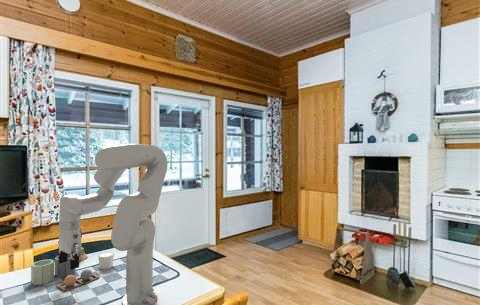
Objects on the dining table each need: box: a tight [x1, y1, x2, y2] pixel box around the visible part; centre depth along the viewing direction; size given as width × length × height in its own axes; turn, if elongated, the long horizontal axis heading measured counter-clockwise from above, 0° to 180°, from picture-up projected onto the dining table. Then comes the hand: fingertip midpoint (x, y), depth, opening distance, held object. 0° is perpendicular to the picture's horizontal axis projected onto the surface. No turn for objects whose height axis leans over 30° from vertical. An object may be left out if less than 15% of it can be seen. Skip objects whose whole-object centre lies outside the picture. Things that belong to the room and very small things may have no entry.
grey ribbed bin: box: [54, 254, 76, 278], centre depth 127 cm, size 8×8×9 cm
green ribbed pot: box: [30, 259, 55, 286], centre depth 120 cm, size 8×8×9 cm
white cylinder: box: [98, 251, 114, 270], centre depth 134 cm, size 7×7×7 cm
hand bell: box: [75, 228, 89, 262], centre depth 147 cm, size 8×8×16 cm
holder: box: [56, 273, 100, 293], centre depth 118 cm, size 7×14×2 cm, turn 146°
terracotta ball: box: [63, 274, 77, 286], centre depth 115 cm, size 4×4×4 cm
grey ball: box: [80, 268, 93, 280], centre depth 121 cm, size 4×4×4 cm
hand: (68, 265), depth 115 cm, fingers open, 9 cm apart
